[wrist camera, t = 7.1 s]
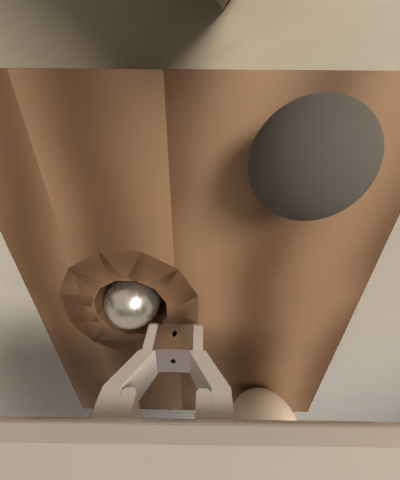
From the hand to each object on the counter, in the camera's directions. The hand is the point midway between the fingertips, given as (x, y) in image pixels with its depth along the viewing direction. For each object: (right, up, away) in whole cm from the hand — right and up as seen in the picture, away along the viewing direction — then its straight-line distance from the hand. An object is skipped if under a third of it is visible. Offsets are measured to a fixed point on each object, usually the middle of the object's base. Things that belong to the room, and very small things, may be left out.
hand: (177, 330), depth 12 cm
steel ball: (-3, +1, +2) cm, 4 cm away
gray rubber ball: (+5, +8, -5) cm, 10 cm away
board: (+1, +2, +3) cm, 4 cm away
